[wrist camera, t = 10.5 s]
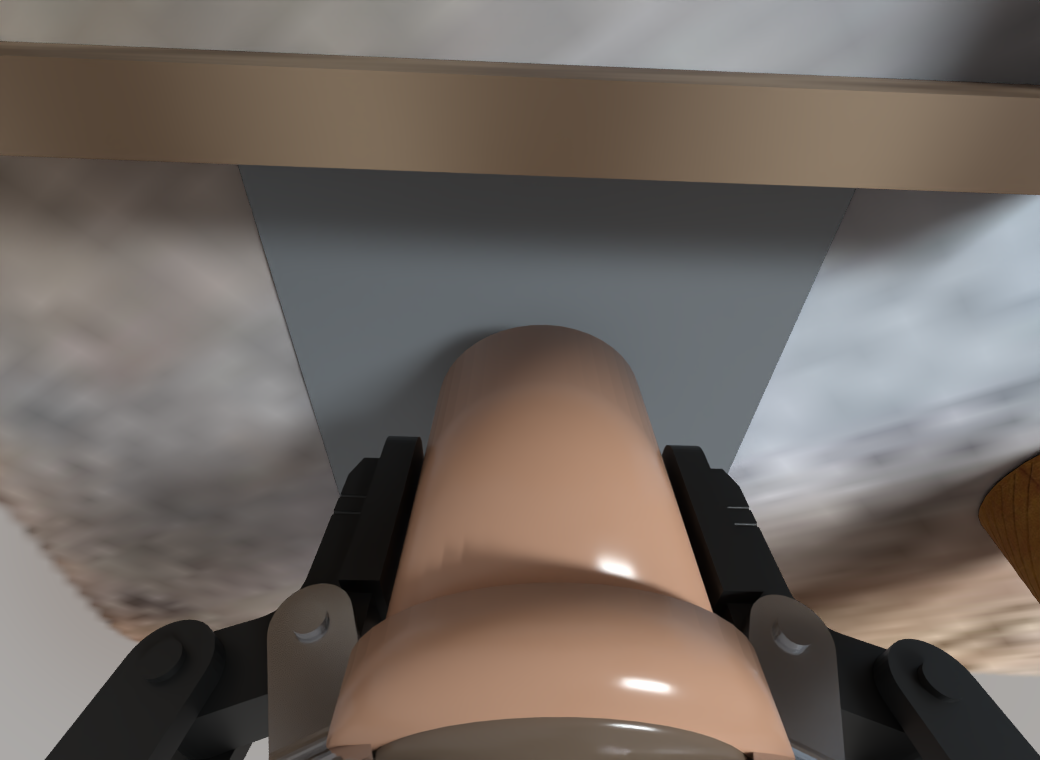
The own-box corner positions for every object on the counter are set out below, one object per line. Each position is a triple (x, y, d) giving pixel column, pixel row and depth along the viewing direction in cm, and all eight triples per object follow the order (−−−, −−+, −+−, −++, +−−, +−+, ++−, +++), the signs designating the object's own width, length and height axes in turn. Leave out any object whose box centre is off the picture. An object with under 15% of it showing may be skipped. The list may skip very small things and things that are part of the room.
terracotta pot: (680, 314, 11) (1217, 1270, 2) (632, 490, 15) (777, 1100, 6) (412, 305, 11) (11, 1265, 2) (433, 484, 15) (309, 1095, 6)
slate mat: (850, 180, 11) (857, 184, 10) (706, 507, 18) (709, 514, 18) (243, 157, 10) (236, 160, 10) (345, 498, 18) (342, 504, 17)
